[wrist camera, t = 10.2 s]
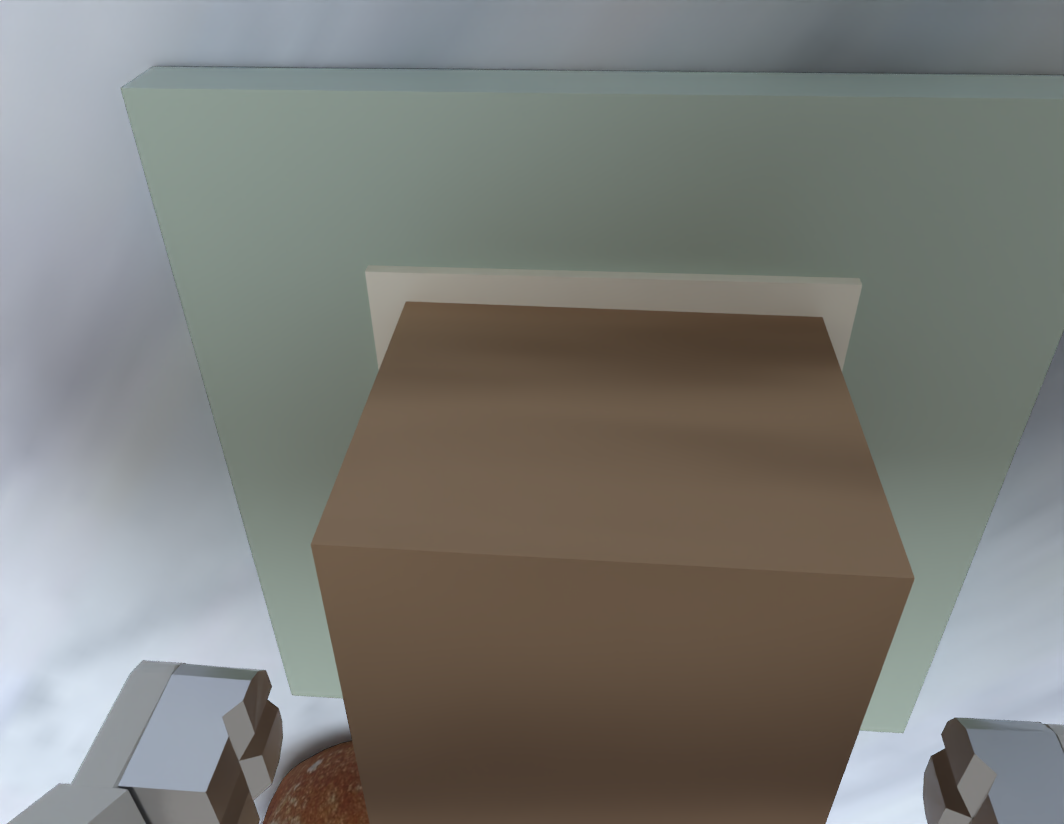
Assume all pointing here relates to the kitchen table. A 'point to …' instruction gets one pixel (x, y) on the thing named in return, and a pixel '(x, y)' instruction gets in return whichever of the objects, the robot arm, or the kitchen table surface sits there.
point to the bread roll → (321, 791)
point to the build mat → (614, 264)
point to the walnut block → (607, 569)
